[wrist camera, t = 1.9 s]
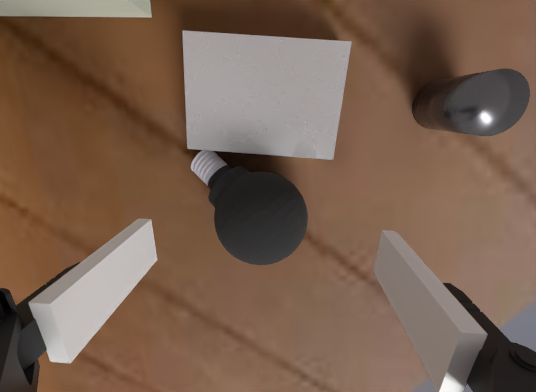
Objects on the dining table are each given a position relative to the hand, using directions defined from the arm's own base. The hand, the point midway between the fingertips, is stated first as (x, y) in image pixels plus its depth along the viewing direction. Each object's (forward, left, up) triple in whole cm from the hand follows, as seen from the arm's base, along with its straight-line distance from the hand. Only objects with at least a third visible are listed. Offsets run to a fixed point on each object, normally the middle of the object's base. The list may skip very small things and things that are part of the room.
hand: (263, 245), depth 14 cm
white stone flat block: (0, +8, -7) cm, 11 cm away
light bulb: (-1, +1, -7) cm, 7 cm away
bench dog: (+12, +8, -6) cm, 15 cm away
